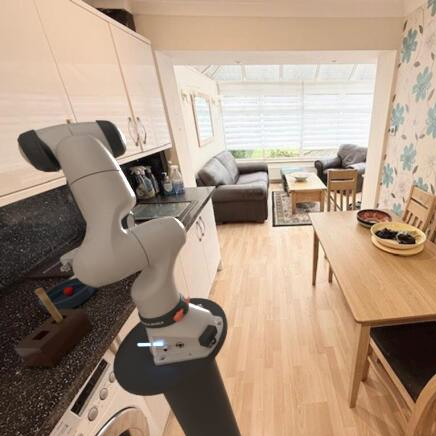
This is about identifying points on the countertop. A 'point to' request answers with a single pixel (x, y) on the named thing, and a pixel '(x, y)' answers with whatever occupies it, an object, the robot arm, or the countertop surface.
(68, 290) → the cherry tomato
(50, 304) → the stirring stick
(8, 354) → the countertop surface
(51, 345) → the utensil block
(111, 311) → the countertop surface
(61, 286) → the bowl
